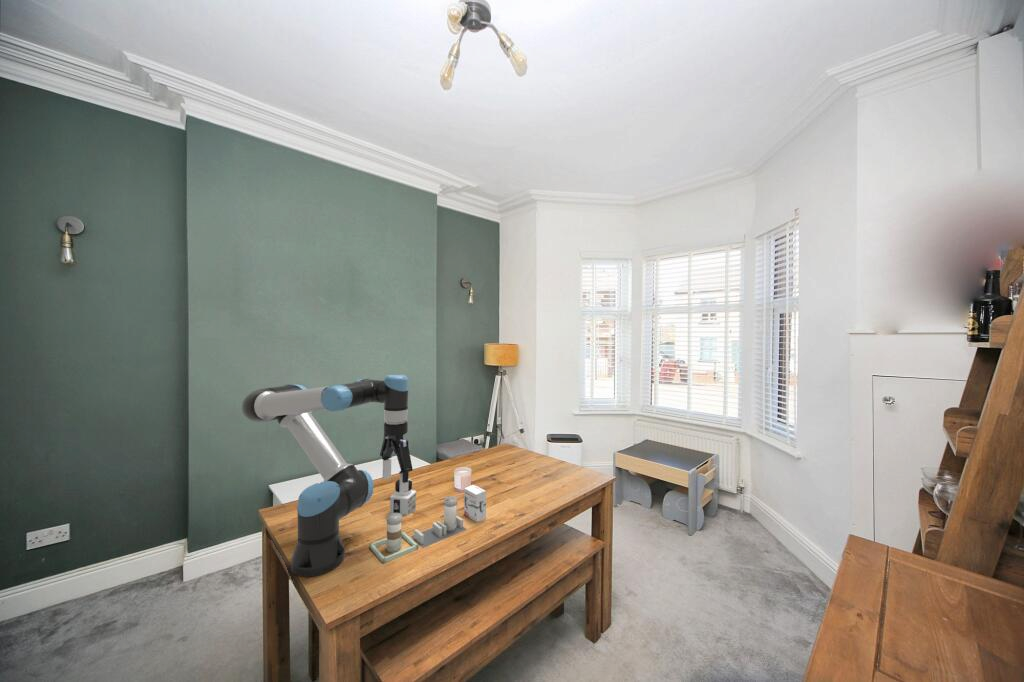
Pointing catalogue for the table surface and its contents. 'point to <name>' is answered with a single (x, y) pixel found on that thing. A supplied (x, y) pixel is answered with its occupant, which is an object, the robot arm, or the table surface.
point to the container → (403, 500)
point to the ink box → (475, 503)
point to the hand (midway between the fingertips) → (395, 484)
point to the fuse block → (436, 533)
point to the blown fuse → (394, 532)
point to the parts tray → (395, 555)
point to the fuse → (450, 513)
